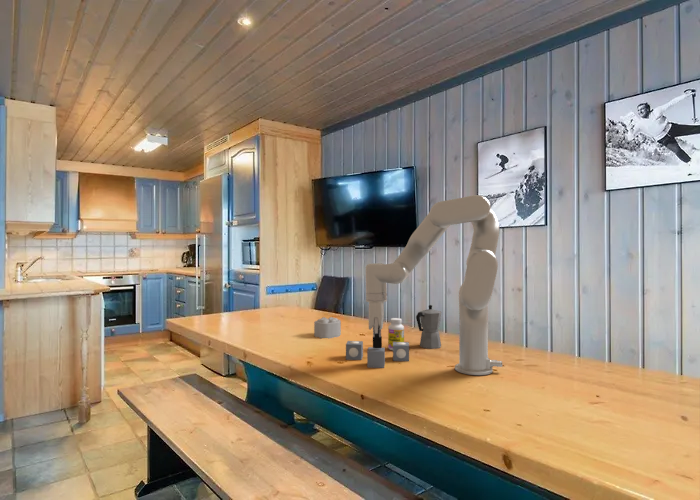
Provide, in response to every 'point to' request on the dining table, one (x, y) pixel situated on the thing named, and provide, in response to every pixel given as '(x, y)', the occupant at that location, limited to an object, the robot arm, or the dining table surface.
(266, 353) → the dining table surface
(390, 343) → the supplement bottle
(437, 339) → the coffeepot
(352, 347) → the badge block
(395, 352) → the badge block
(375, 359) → the plain block
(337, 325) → the lumpy-topped squat cylinder
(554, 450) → the dining table surface
